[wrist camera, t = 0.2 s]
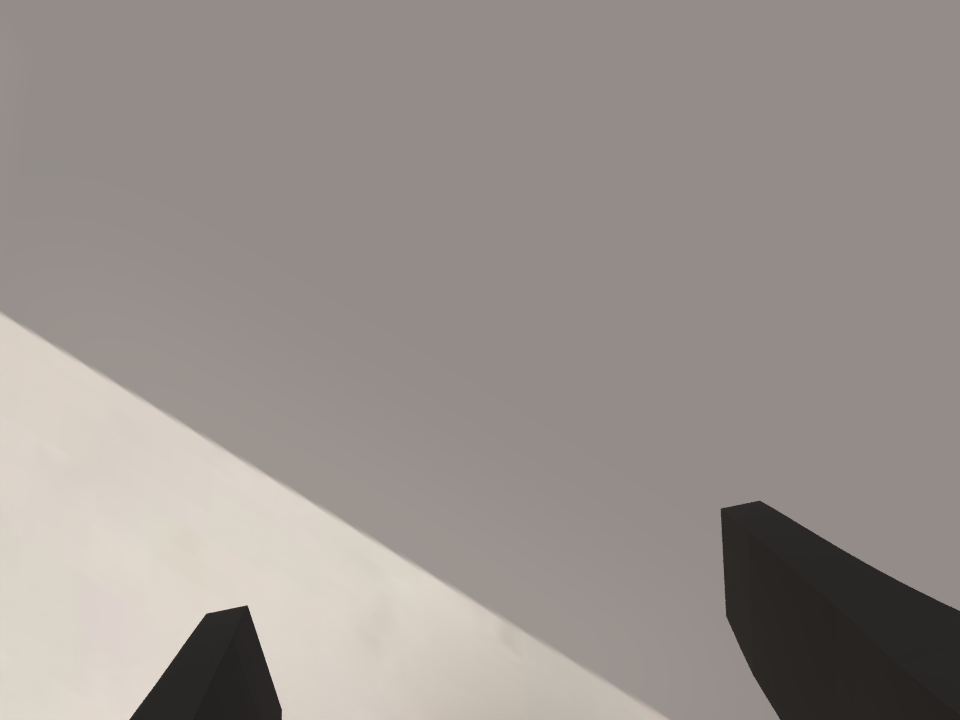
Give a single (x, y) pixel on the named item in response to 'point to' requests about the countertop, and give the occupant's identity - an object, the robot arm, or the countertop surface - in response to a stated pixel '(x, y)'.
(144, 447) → the countertop surface
